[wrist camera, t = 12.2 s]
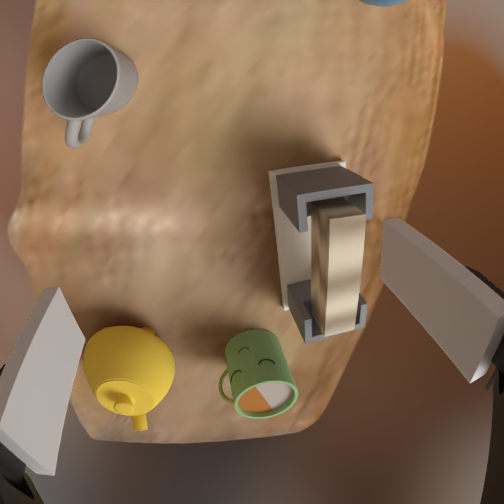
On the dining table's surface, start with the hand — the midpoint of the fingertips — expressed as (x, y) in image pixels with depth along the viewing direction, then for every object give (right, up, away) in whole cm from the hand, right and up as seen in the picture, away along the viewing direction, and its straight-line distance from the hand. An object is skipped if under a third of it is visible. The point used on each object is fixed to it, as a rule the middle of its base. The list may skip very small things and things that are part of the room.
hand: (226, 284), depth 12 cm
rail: (+11, 0, +32) cm, 33 cm away
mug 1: (-18, +21, +22) cm, 35 cm away
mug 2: (0, -17, +45) cm, 48 cm away
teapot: (-20, -17, +41) cm, 49 cm away
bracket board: (+10, +3, +37) cm, 38 cm away
